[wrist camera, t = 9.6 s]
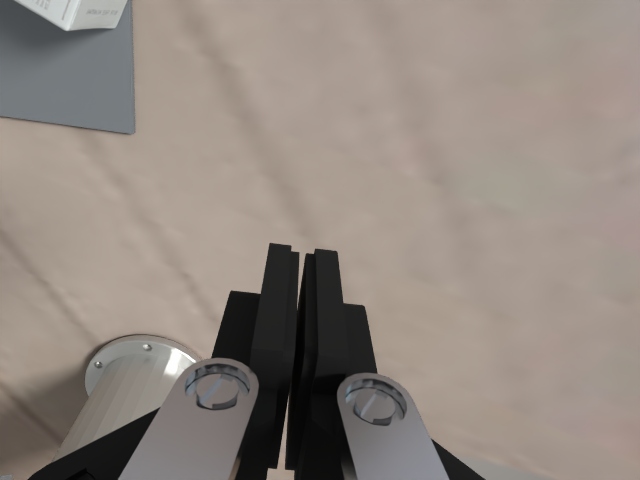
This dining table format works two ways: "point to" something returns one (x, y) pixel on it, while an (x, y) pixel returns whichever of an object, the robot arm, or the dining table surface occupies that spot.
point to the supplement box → (78, 12)
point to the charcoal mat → (66, 71)
